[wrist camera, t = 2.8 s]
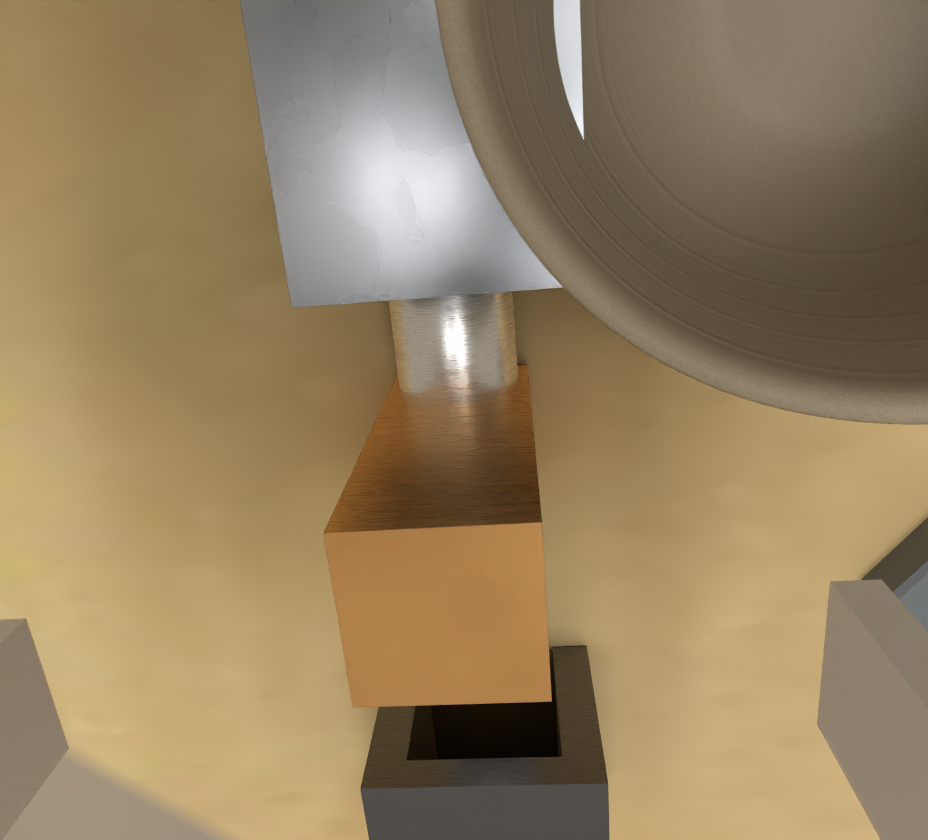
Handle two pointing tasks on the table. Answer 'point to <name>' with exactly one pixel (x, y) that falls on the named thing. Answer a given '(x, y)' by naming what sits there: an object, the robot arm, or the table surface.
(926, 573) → the bracket
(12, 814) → the robot arm
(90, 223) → the table surface
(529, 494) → the orange and grey piece
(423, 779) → the socket
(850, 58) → the planter
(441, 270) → the grey block
